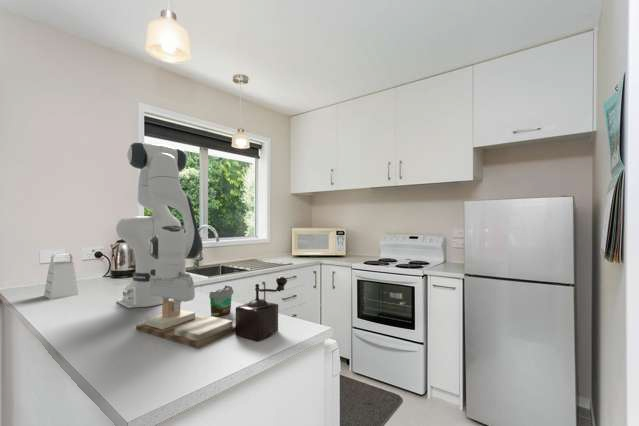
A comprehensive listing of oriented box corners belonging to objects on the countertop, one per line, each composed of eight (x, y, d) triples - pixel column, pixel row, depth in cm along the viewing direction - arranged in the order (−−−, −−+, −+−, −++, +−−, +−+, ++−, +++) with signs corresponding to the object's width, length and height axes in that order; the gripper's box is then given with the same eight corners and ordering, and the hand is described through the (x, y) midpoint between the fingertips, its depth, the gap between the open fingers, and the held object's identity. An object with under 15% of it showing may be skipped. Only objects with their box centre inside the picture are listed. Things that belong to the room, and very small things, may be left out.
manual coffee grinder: (260, 343, 93) (260, 284, 94) (234, 335, 99) (234, 280, 99) (289, 327, 107) (289, 276, 107) (264, 321, 112) (265, 273, 113)
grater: (43, 295, 147) (44, 254, 147) (70, 291, 155) (71, 252, 155) (50, 299, 141) (51, 256, 141) (78, 294, 149) (78, 254, 149)
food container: (223, 319, 114) (223, 293, 114) (208, 318, 115) (209, 292, 116) (238, 309, 126) (238, 286, 126) (225, 309, 127) (225, 285, 128)
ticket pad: (135, 329, 104) (135, 319, 104) (177, 316, 118) (177, 307, 118) (198, 348, 89) (198, 336, 89) (236, 330, 103) (236, 320, 103)
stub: (145, 324, 104) (145, 304, 104) (179, 314, 115) (179, 295, 115) (162, 329, 99) (162, 308, 99) (195, 318, 111) (195, 298, 111)
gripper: (199, 272, 105) (199, 312, 105) (162, 267, 115) (161, 304, 115) (183, 275, 100) (183, 317, 100) (146, 270, 109) (145, 308, 109)
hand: (171, 310), depth 107 cm, fingers closed on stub, 3 cm apart
